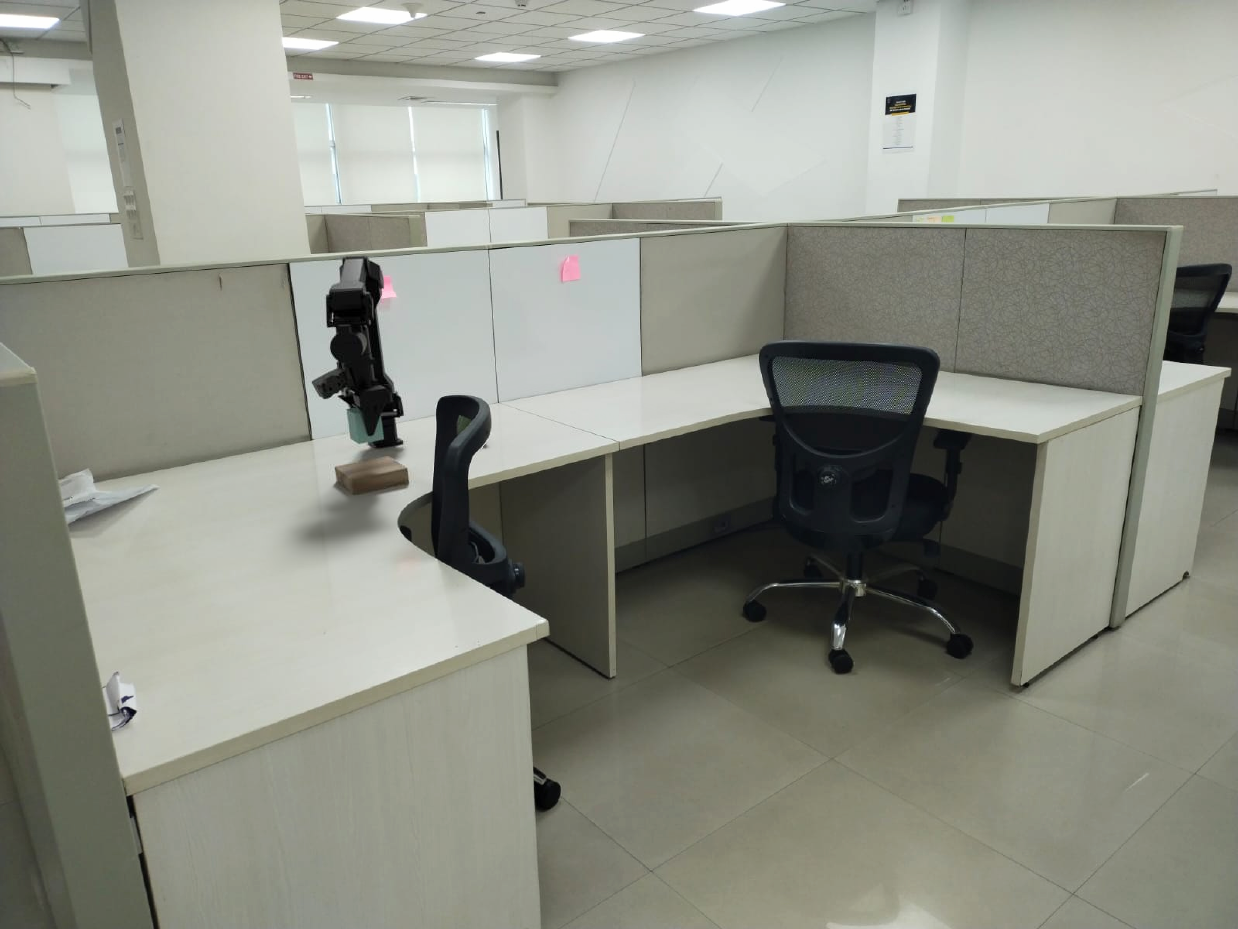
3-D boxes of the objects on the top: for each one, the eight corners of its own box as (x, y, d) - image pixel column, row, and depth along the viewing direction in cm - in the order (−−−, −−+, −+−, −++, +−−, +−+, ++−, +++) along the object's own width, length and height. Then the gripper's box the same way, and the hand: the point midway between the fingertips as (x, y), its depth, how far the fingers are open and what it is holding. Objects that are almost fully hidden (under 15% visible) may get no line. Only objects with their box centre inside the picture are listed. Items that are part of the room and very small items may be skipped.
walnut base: (336, 480, 176) (334, 466, 175) (389, 469, 182) (387, 455, 181) (354, 494, 168) (352, 479, 167) (409, 482, 173) (407, 468, 172)
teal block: (350, 438, 173) (346, 409, 171) (375, 434, 176) (371, 404, 174) (358, 444, 169) (354, 413, 167) (383, 439, 172) (380, 409, 170)
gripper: (299, 353, 170) (311, 431, 175) (327, 367, 156) (339, 451, 160) (355, 345, 176) (365, 421, 181) (388, 358, 161) (398, 439, 166)
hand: (366, 433), depth 172 cm, fingers closed on teal block, 5 cm apart
